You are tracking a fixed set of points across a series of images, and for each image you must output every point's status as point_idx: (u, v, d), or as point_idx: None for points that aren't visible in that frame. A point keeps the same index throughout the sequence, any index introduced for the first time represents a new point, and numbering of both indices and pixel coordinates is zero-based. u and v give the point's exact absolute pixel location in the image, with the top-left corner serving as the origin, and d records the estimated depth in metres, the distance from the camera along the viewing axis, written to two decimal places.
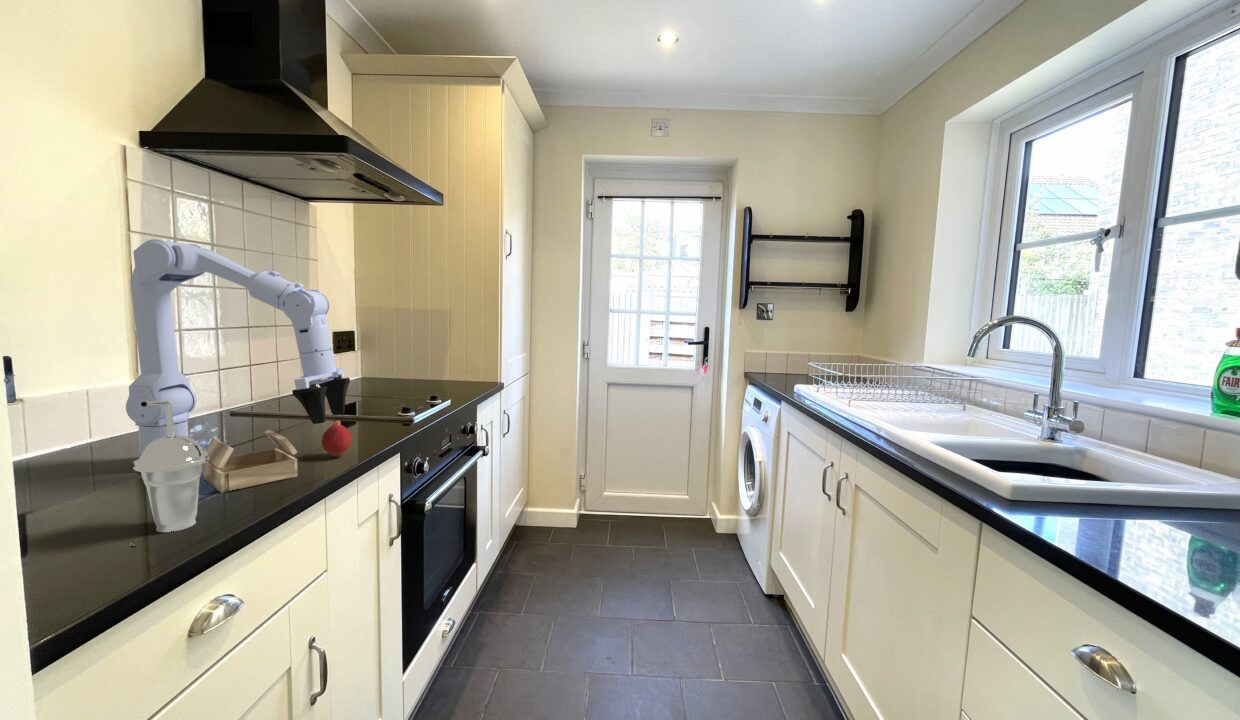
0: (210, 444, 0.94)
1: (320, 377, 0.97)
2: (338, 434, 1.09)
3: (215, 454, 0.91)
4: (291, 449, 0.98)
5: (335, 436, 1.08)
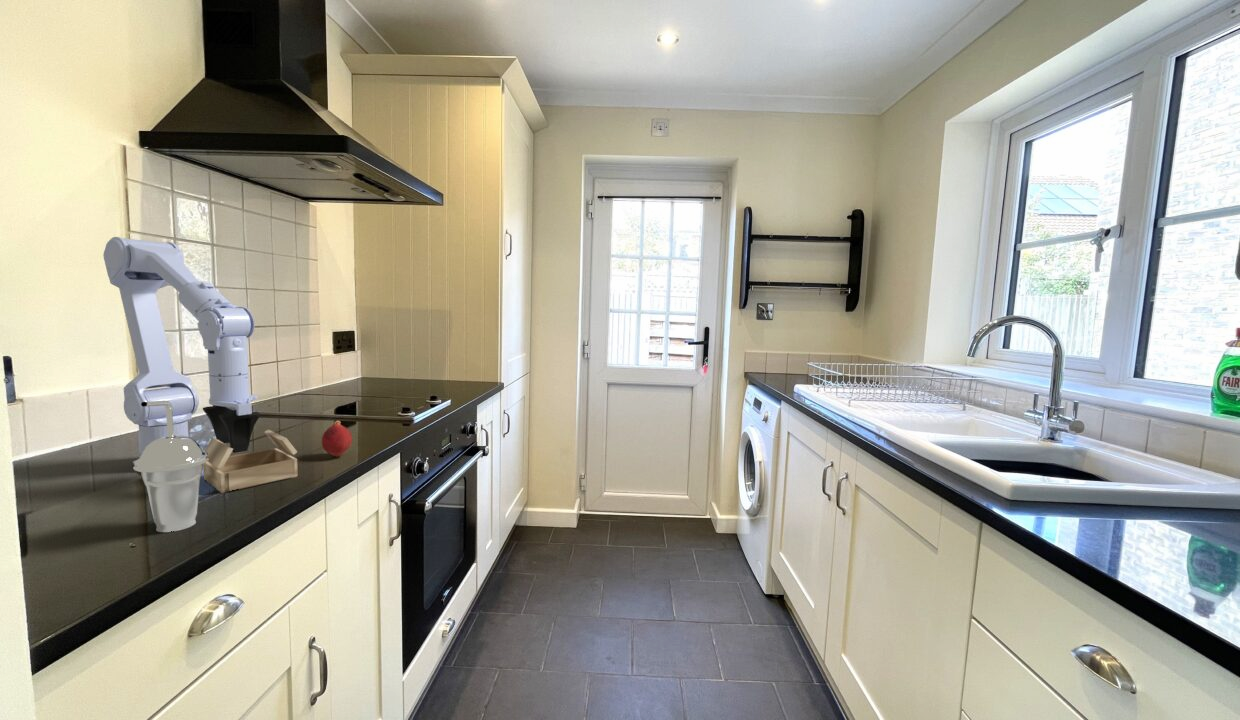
0: (210, 444, 0.94)
1: None
2: (338, 434, 1.09)
3: (215, 454, 0.91)
4: (291, 449, 0.98)
5: (335, 435, 1.08)
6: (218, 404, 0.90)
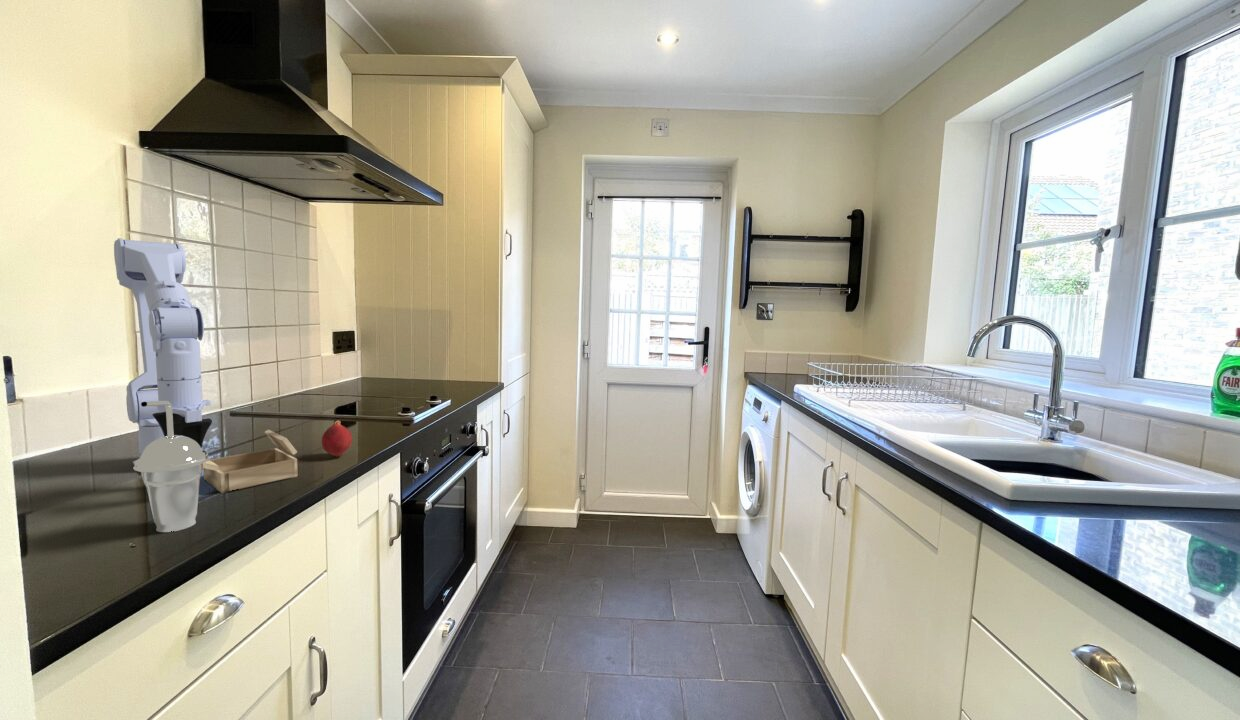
0: None
1: (201, 408, 0.87)
2: (338, 434, 1.09)
3: None
4: (291, 449, 0.98)
5: (335, 435, 1.08)
6: None
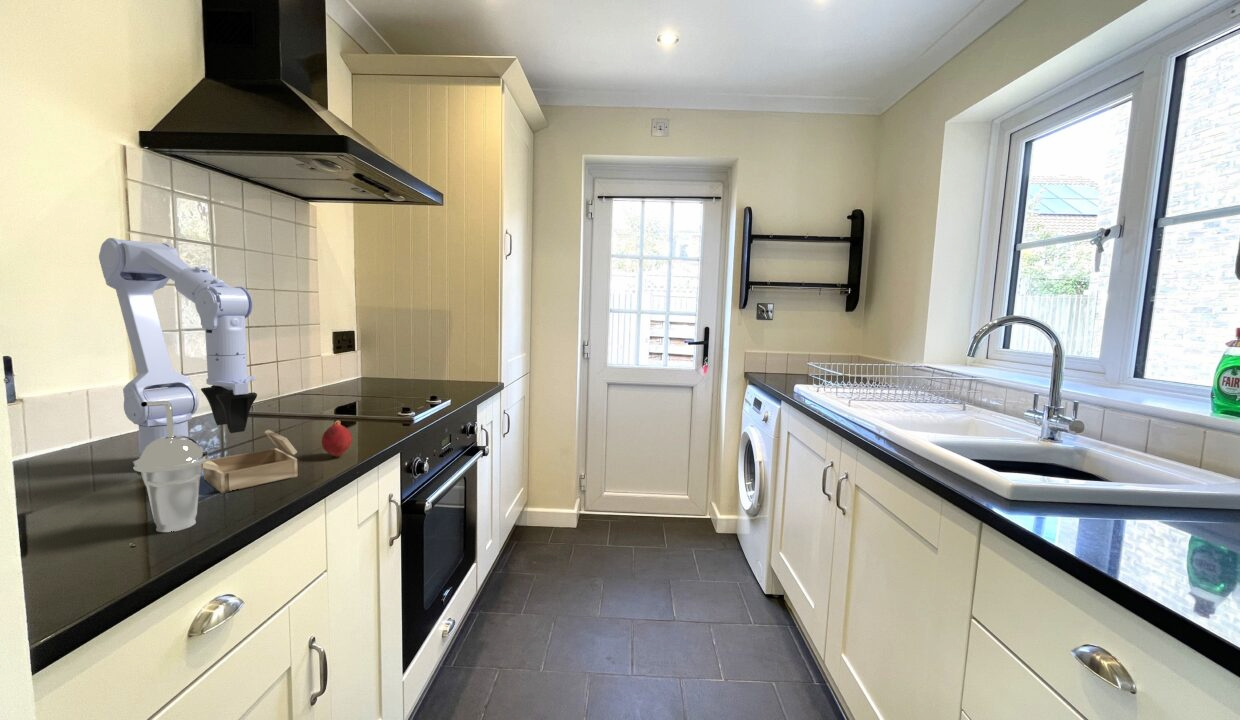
0: None
1: (247, 382, 0.91)
2: (338, 434, 1.09)
3: None
4: (291, 449, 0.98)
5: (335, 435, 1.08)
6: (215, 383, 0.89)
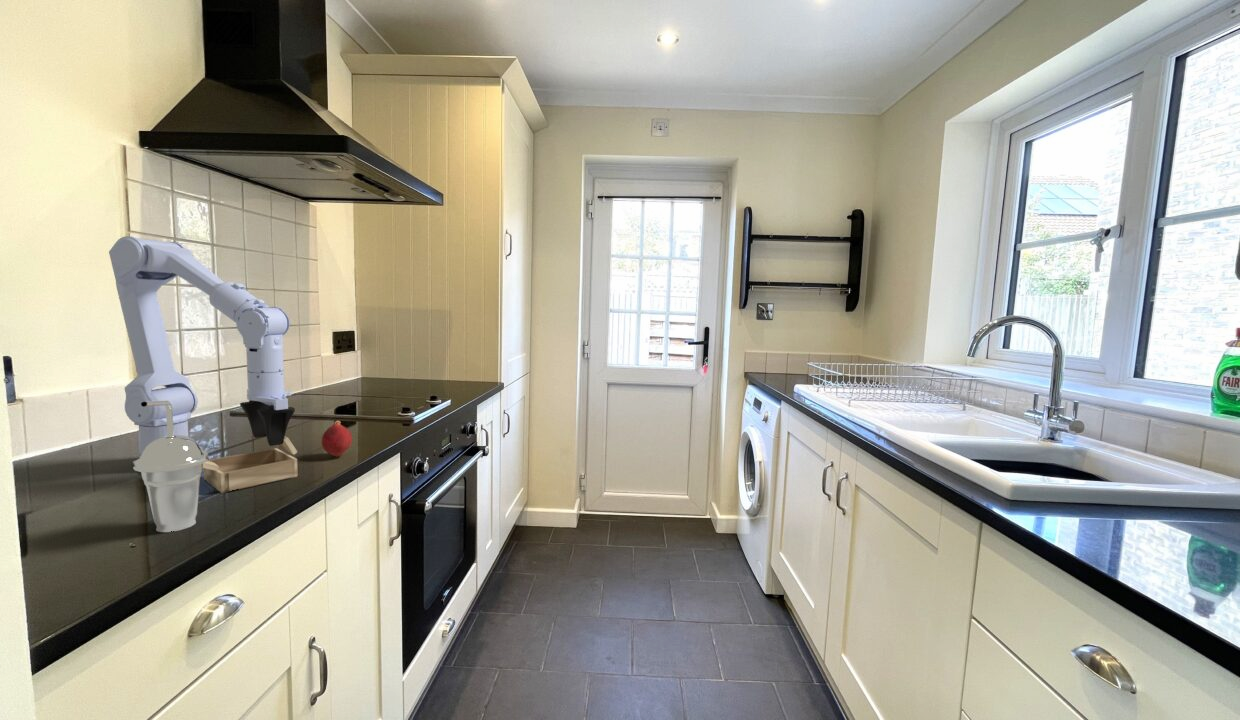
0: None
1: None
2: (338, 434, 1.09)
3: None
4: (291, 449, 0.98)
5: (335, 435, 1.08)
6: (256, 399, 0.94)
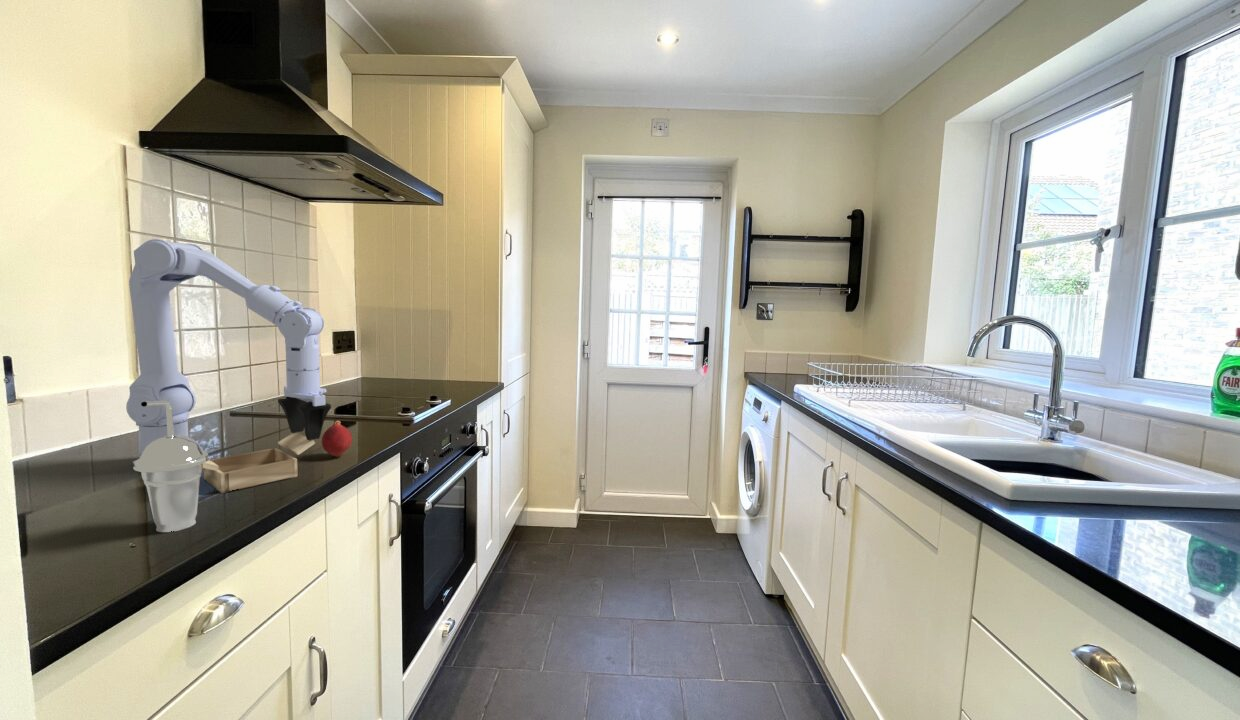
0: None
1: None
2: (338, 434, 1.09)
3: None
4: (302, 449, 0.99)
5: (335, 436, 1.08)
6: (295, 396, 0.99)
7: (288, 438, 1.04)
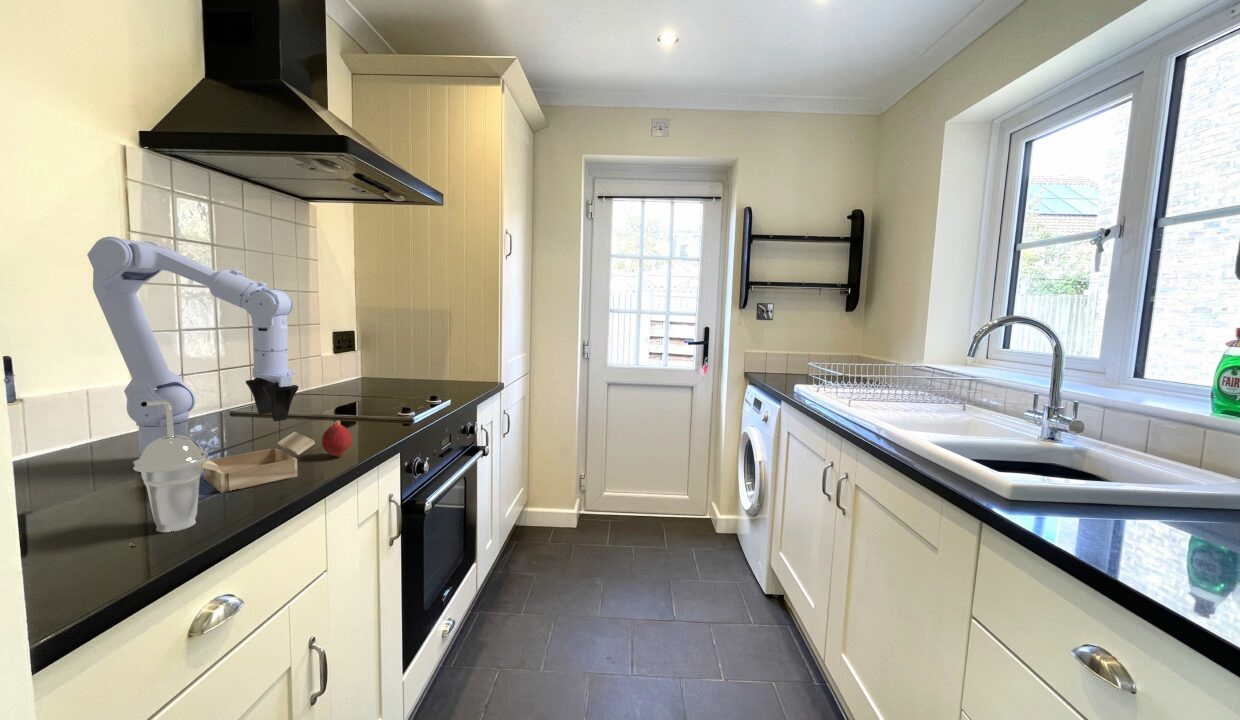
0: None
1: None
2: (338, 434, 1.09)
3: None
4: (302, 449, 0.99)
5: (335, 435, 1.08)
6: (262, 376, 0.99)
7: (288, 438, 1.04)
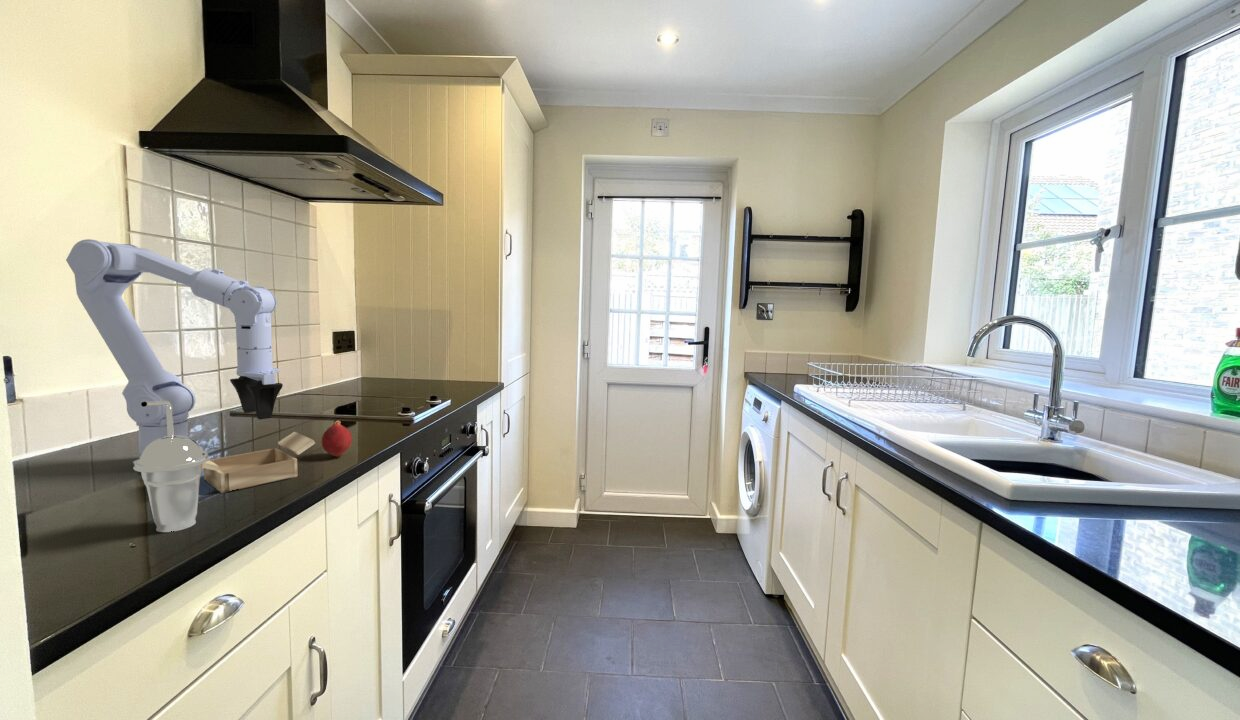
0: None
1: None
2: (338, 434, 1.09)
3: None
4: (302, 449, 0.99)
5: (335, 436, 1.08)
6: (245, 374, 0.98)
7: (288, 438, 1.04)
